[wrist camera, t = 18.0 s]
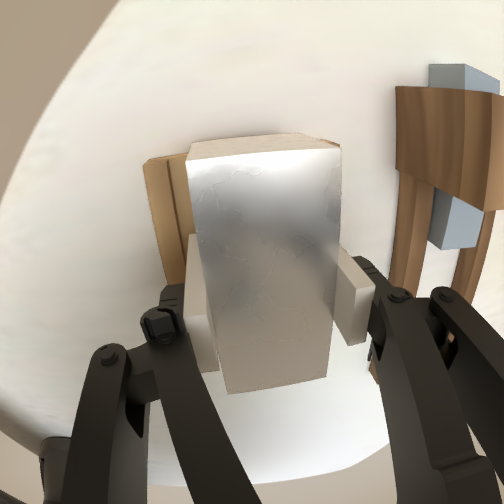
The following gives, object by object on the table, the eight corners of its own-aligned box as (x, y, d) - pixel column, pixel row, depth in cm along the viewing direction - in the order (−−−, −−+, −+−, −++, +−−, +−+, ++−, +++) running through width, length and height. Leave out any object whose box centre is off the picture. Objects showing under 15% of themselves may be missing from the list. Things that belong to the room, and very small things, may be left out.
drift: (444, 226, 21) (475, 246, 18) (410, 227, 21) (441, 250, 17) (462, 77, 16) (499, 80, 12) (426, 64, 15) (464, 63, 12)
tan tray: (180, 308, 20) (179, 327, 19) (149, 159, 16) (142, 166, 14) (324, 286, 21) (334, 302, 20) (325, 139, 17) (339, 144, 15)
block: (300, 317, 19) (326, 376, 15) (220, 330, 19) (227, 394, 14) (298, 132, 14) (341, 147, 10) (192, 142, 13) (185, 161, 9)
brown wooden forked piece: (365, 371, 27) (399, 435, 20) (395, 86, 16) (491, 92, 9) (443, 344, 28) (482, 394, 21) (489, 104, 17) (568, 123, 10)
